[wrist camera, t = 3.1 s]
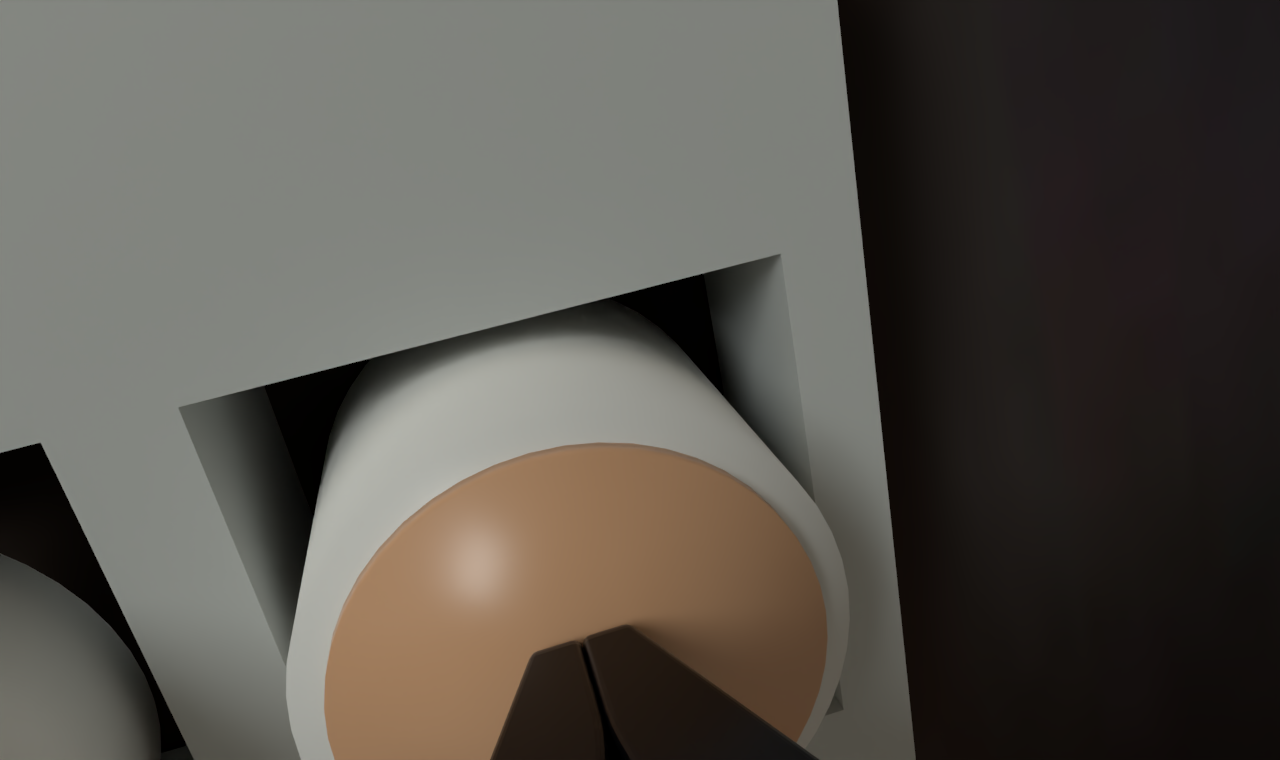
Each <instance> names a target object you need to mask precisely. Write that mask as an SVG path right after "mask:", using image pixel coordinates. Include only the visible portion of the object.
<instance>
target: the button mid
mask: <svg viewBox="0 0 1280 760" xmlns="http://www.w3.org/2000/svg"><path fill="white" fill-rule="evenodd" d="M160 759H161V729H160V723H159V718H158V713H157V709H156V704H155V700H154V697H153V695H152V692H151V690H150V687H149V685H148V682H147V680H146V677H145V675H144V673H143V671H142V670H141V668H140V666H139V665H138V663H137V661H136V660H135V658H134V656H133V654H132V653H131V651H130V650H129V648H128V647H127V646H126V645H125V643H124V642H123V641H122V640H121V638H120V637H119V636H118V635H117V633H116V632H115V631H114V630H113V629H112V627H111V626H110V625H109V624H108V623H107V622H106V621H105V620H104V619H102V618H101V617H100V616H99V615H98V614H97V613H96V612H95V611H94V610H93V609H92V608H91V607H90V606H89V605H88V604H87V603H85V602H84V601H82V600H81V599H80V598H78V597H77V596H76V595H74V594H73V593H72V592H70V591H69V590H67V589H66V588H65V587H63V586H62V585H61V584H59V583H58V582H56V581H54V580H52V579H51V578H49V577H47V576H45V575H44V574H42V573H40V572H38V571H37V570H35V569H33V568H31V567H30V566H28V565H26V564H24V563H21V562H19V561H17V560H14V559H12V558H10V557H7V556H5V555H3V554H0V760H160Z"/></svg>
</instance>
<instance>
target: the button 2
mask: <svg viewBox="0 0 1280 760" xmlns="http://www.w3.org/2000/svg"><path fill="white" fill-rule="evenodd" d="M849 622H850V612H849V593H848V585H847V580H846V575H845V570H844V566H843V561H842V558H841V555H840V552H839V550H838V547H837V544H836V542H835V539H834V536H833V534H832V531H831V530H830V528H829V526H828V524H827V522H826V521H825V519H824V517H823V515H822V514H821V512H820V510H819V508H818V507H817V505H816V504H815V503H814V501H813V500H812V499H811V498H810V496H809V495H808V494H807V492H806V491H805V490H804V489H803V487H802V486H801V485H800V484H799V482H798V481H797V480H796V479H795V478H794V477H793V476H792V474H791V473H790V472H789V471H788V470H787V469H786V468H785V466H784V465H783V464H782V463H781V462H780V461H779V460H778V458H777V457H776V456H775V455H774V454H773V453H772V452H771V450H770V449H769V448H768V447H767V446H766V445H765V444H764V442H763V441H762V440H761V439H760V438H759V437H758V436H757V434H756V433H755V432H754V431H753V430H752V429H751V428H750V426H749V425H748V424H747V423H746V422H745V421H744V420H743V418H742V417H741V416H740V415H739V414H738V413H737V412H736V410H735V409H734V408H733V407H732V406H731V405H730V404H729V402H728V401H727V400H726V399H725V398H724V397H723V396H722V394H721V393H720V392H719V391H718V390H717V389H716V388H715V386H714V385H713V384H712V383H711V382H710V381H709V380H708V378H707V377H706V376H705V375H704V374H703V373H702V372H701V370H700V369H699V368H698V367H697V366H696V365H695V364H694V362H693V361H692V360H691V359H690V358H689V357H688V356H687V354H686V353H685V352H684V351H683V350H682V349H681V348H680V346H679V345H678V344H677V343H676V342H675V341H674V340H673V339H671V338H670V337H669V336H668V335H667V334H666V333H665V332H664V331H663V330H662V329H661V328H660V327H658V326H657V325H655V324H654V323H653V322H651V321H650V320H648V319H647V318H645V317H644V316H642V315H641V314H640V313H638V312H636V311H634V310H632V309H630V308H628V307H626V306H624V305H622V304H620V303H618V302H616V301H613V300H611V299H608V298H605V299H601V300H597V301H593V302H589V303H585V304H581V305H578V306H574V307H570V308H566V309H562V310H558V311H554V312H550V313H546V314H542V315H538V316H534V317H531V318H527V319H523V320H519V321H515V322H511V323H507V324H503V325H499V326H495V327H491V328H487V329H483V330H480V331H476V332H472V333H468V334H464V335H460V336H456V337H452V338H448V339H444V340H440V341H436V342H433V343H429V344H425V345H421V346H417V347H413V348H409V349H405V350H401V351H397V352H393V353H389V354H385V355H382V356H378V357H374V358H372V359H371V360H370V361H369V362H368V363H367V364H366V365H365V366H364V368H363V369H362V371H361V372H360V373H359V375H358V376H357V378H356V379H355V381H354V382H353V383H352V385H351V386H350V388H349V390H348V392H347V394H346V396H345V398H344V400H343V402H342V403H341V405H340V407H339V409H338V411H337V414H336V417H335V420H334V423H333V426H332V429H331V432H330V435H329V439H328V444H327V450H326V455H325V460H324V466H323V471H322V476H321V482H320V487H319V492H318V497H317V503H316V508H315V513H314V519H313V524H312V529H311V534H310V540H309V545H308V550H307V556H306V561H305V566H304V571H303V577H302V582H301V587H300V593H299V598H298V603H297V609H296V614H295V619H294V624H293V630H292V635H291V641H290V646H289V652H288V658H287V664H286V700H287V707H288V713H289V720H290V726H291V731H292V734H293V737H294V740H295V743H296V746H297V749H298V752H299V755H300V758H301V760H490V759H491V756H492V753H493V751H494V748H495V746H496V743H497V741H498V738H499V735H500V733H501V730H502V728H503V725H504V723H505V720H506V717H507V715H508V712H509V710H510V707H511V705H512V702H513V699H514V697H515V694H516V692H517V689H518V687H519V684H520V681H521V679H522V676H523V674H524V671H525V669H526V666H527V663H528V661H529V659H530V657H531V656H532V654H533V653H535V652H537V651H539V650H543V649H546V648H549V647H552V646H556V645H559V644H562V643H565V642H569V641H574V640H575V641H578V642H579V643H580V644H581V645H582V647H583V642H584V639H585V638H586V637H587V636H589V635H592V634H595V633H598V632H601V631H604V630H608V629H611V628H614V627H617V626H621V625H625V624H627V625H631V626H633V627H635V628H636V629H638V630H639V631H640V632H642V633H643V634H645V635H646V636H647V637H649V638H650V639H652V640H653V641H654V642H656V643H657V644H659V645H660V646H661V647H663V648H664V649H666V650H667V651H668V652H670V653H671V654H673V655H674V656H675V657H677V658H678V659H680V660H681V661H682V662H684V663H685V664H687V665H688V666H689V667H691V668H692V669H694V670H695V671H696V672H698V673H699V674H701V675H702V676H703V677H705V678H706V679H708V680H709V681H710V682H712V683H713V684H715V685H716V686H717V687H719V688H720V689H722V690H723V691H724V692H726V693H727V694H729V695H730V696H731V697H733V698H734V699H736V700H737V701H738V702H740V703H741V704H743V705H744V706H745V707H747V708H748V709H750V710H751V711H752V712H754V713H755V714H757V715H758V716H759V717H761V718H762V719H764V720H765V721H766V722H768V723H769V724H771V725H772V726H773V727H775V728H776V729H777V730H779V731H780V732H782V733H783V734H784V735H786V736H787V737H789V738H790V739H791V740H793V741H794V742H796V743H797V744H798V745H800V746H801V747H803V748H804V749H805V748H806V747H807V745H808V744H809V742H810V741H811V739H812V738H813V736H814V735H815V733H816V731H817V729H818V728H819V726H820V724H821V722H822V720H823V718H824V716H825V714H826V712H827V710H828V708H829V706H830V704H831V701H832V698H833V696H834V693H835V690H836V688H837V685H838V682H839V680H840V677H841V672H842V668H843V664H844V659H845V655H846V651H847V644H848V633H849ZM583 650H584V648H583ZM584 653H585V652H584Z"/></svg>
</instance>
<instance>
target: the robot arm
mask: <svg viewBox="0 0 1280 760" xmlns="http://www.w3.org/2000/svg"><path fill="white" fill-rule="evenodd" d="M583 648H584V650H583ZM584 652H585V653H584ZM490 760H819V759H818V758H817V757H815V756H814V755H812V754H811V753H810V752H808V751H807V750H805V749H804V748H803V747H801V746H800V745H798V744H797V743H796V742H794V741H793V740H791V739H790V738H789V737H787V736H786V735H784V734H783V733H782V732H780V731H779V730H777V729H776V728H775V727H773V726H772V725H771V724H769V723H768V722H766V721H765V720H764V719H762V718H761V717H759V716H758V715H757V714H755V713H754V712H752V711H751V710H750V709H748V708H747V707H745V706H744V705H743V704H741V703H740V702H738V701H737V700H736V699H734V698H733V697H731V696H730V695H729V694H727V693H726V692H724V691H723V690H722V689H720V688H719V687H717V686H716V685H715V684H713V683H712V682H710V681H709V680H708V679H706V678H705V677H703V676H702V675H701V674H699V673H698V672H696V671H695V670H694V669H692V668H691V667H689V666H688V665H687V664H685V663H684V662H682V661H681V660H680V659H678V658H677V657H675V656H674V655H673V654H671V653H670V652H668V651H667V650H666V649H664V648H663V647H661V646H660V645H659V644H657V643H656V642H654V641H653V640H652V639H650V638H649V637H647V636H646V635H645V634H643V633H642V632H640V631H639V630H638V629H636V628H635V627H633V626H631V625H627V624H625V625H621V626H617V627H614V628H611V629H608V630H604V631H601V632H598V633H595V634H592V635H589V636H587V637H586V638H585V639H584V642H583V647H582V645H581V644H580V643H579V642H578V641H575V640H574V641H569V642H565V643H562V644H559V645H556V646H552V647H549V648H546V649H543V650H539V651H537V652H535V653H533V654H532V656H531V657H530V659H529V661H528V663H527V666H526V669H525V671H524V674H523V676H522V679H521V681H520V684H519V687H518V689H517V692H516V694H515V697H514V699H513V702H512V705H511V707H510V710H509V712H508V715H507V717H506V720H505V723H504V725H503V728H502V730H501V733H500V735H499V738H498V741H497V743H496V746H495V748H494V751H493V753H492V756H491V759H490Z"/></svg>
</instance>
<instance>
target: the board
mask: <svg viewBox="0 0 1280 760" xmlns="http://www.w3.org/2000/svg"><path fill="white" fill-rule="evenodd" d="M699 274H704V280H705V286H706V292H707V297H708V303H709V309H710V315H711V321H712V327H713V332H714V338H715V344H716V350H717V356H718V362H719V367H720V373H721V379H722V385H723V391H724V397H725V399H726V400H727V401H728V402H729V404H730V405H731V406H732V407H733V408H734V409H735V410H736V412H737V413H738V414H739V415H740V416H741V417H742V418H743V420H744V421H745V422H746V423H747V424H748V425H749V426H750V428H751V429H752V430H753V431H754V432H755V433H756V434H757V436H758V437H759V438H760V439H761V440H762V441H763V442H764V444H765V445H766V446H767V447H768V448H769V449H770V450H771V452H772V453H773V454H774V455H775V456H776V457H777V458H778V460H779V461H780V462H781V463H782V464H783V465H784V466H785V468H786V469H787V470H788V471H789V472H790V473H791V474H792V476H793V477H794V478H795V479H796V480H797V481H798V482H799V484H800V485H801V486H802V487H803V489H804V490H805V491H806V492H807V494H808V495H809V496H810V498H811V499H812V500H813V501H814V503H815V504H816V505H817V507H818V508H819V510H820V512H821V514H822V515H823V517H824V519H825V521H826V522H827V524H828V526H829V528H830V530H831V531H832V534H833V536H834V539H835V542H836V544H837V547H838V550H839V552H840V555H841V558H842V561H843V566H844V570H845V575H846V580H847V585H848V593H849V612H850V622H849V633H848V644H847V651H846V655H845V659H844V664H843V668H842V672H841V677H840V680H839V682H838V685H837V688H836V690H835V693H834V696H833V698H832V701H831V704H830V706H829V708H828V710H827V712H826V714H825V716H824V718H823V720H822V722H821V724H820V726H819V728H818V729H817V731H816V733H815V735H814V736H813V738H812V739H811V741H810V742H809V744H808V745H807V747H806V748H805V750H807V751H808V752H810V753H811V754H812V755H814V756H815V757H817V758H818V759H819V760H916V757H915V747H914V737H913V728H912V718H911V708H910V699H909V689H908V679H907V670H906V660H905V650H904V641H903V631H902V621H901V612H900V602H899V592H898V583H897V573H896V563H895V554H894V544H893V534H892V525H891V515H890V505H889V496H888V486H887V476H886V467H885V457H884V447H883V438H882V428H881V418H880V409H879V399H878V389H877V380H876V370H875V360H874V351H873V341H872V331H871V322H870V312H869V302H868V293H867V283H866V273H865V264H864V254H863V244H862V235H861V225H860V215H859V206H858V196H857V186H856V177H855V167H854V157H853V148H852V138H851V128H850V119H849V109H848V99H847V90H846V80H845V70H844V61H843V51H842V41H841V32H840V22H839V12H838V3H837V0H0V453H1V452H5V451H9V450H13V449H17V448H21V447H25V446H29V445H33V444H37V443H41V444H42V446H43V449H44V451H45V453H46V455H47V457H48V459H49V461H50V463H51V465H52V467H53V469H54V471H55V473H56V475H57V477H58V480H59V482H60V484H61V486H62V488H63V490H64V492H65V494H66V496H67V498H68V500H69V502H70V504H71V506H72V509H73V511H74V513H75V515H76V517H77V519H78V521H79V523H80V525H81V527H82V529H83V531H84V533H85V535H86V537H87V540H88V542H89V544H90V546H91V548H92V550H93V552H94V554H95V556H96V558H97V560H98V562H99V564H100V566H101V568H102V571H103V573H104V575H105V577H106V579H107V581H108V583H109V585H110V587H111V589H112V591H113V593H114V595H115V597H116V600H117V602H118V604H119V606H120V608H121V610H122V612H123V614H124V616H125V618H126V620H127V622H128V624H129V626H130V628H131V631H132V633H133V635H134V637H135V639H136V641H137V643H138V645H139V647H140V649H141V651H142V653H143V655H144V657H145V659H146V662H147V664H148V666H149V668H150V670H151V672H152V674H153V676H154V678H155V680H156V682H157V684H158V686H159V688H160V690H161V693H162V695H163V697H164V699H165V701H166V703H167V705H168V707H169V709H170V711H171V713H172V715H173V717H174V719H175V722H176V724H177V726H178V728H179V730H180V732H181V734H182V736H183V738H184V740H185V742H186V744H187V745H186V746H183V747H180V748H177V749H173V750H170V751H167V752H163V753H161V759H160V760H301V758H300V755H299V752H298V749H297V746H296V743H295V740H294V737H293V734H292V731H291V726H290V720H289V713H288V707H287V700H286V664H287V658H288V652H289V646H290V641H291V635H292V630H293V624H294V619H295V614H296V609H297V603H298V598H299V593H300V587H301V582H302V577H303V571H304V566H305V561H306V556H307V550H308V545H309V540H310V534H311V529H312V524H313V519H314V518H313V515H312V513H311V510H310V507H309V505H308V502H307V499H306V497H305V494H304V491H303V489H302V486H301V483H300V481H299V478H298V475H297V473H296V470H295V467H294V465H293V462H292V459H291V457H290V454H289V451H288V448H287V446H286V443H285V440H284V438H283V435H282V432H281V430H280V427H279V424H278V422H277V419H276V416H275V414H274V411H273V408H272V406H271V403H270V400H269V398H268V395H267V392H266V390H265V387H264V385H268V384H272V383H276V382H280V381H284V380H288V379H291V378H295V377H299V376H303V375H307V374H311V373H315V372H319V371H323V370H327V369H331V368H335V367H338V366H342V365H346V364H350V363H354V362H358V361H362V360H366V359H370V358H374V357H378V356H382V355H385V354H389V353H393V352H397V351H401V350H405V349H409V348H413V347H417V346H421V345H425V344H429V343H433V342H436V341H440V340H444V339H448V338H452V337H456V336H460V335H464V334H468V333H472V332H476V331H480V330H483V329H487V328H491V327H495V326H499V325H503V324H507V323H511V322H515V321H519V320H523V319H527V318H531V317H534V316H538V315H542V314H546V313H550V312H554V311H558V310H562V309H566V308H570V307H574V306H578V305H581V304H585V303H589V302H593V301H597V300H601V299H605V298H609V297H613V296H617V295H621V294H625V293H629V292H632V291H636V290H640V289H644V288H648V287H652V286H656V285H660V284H664V283H668V282H672V281H676V280H679V279H683V278H687V277H691V276H695V275H699Z"/></svg>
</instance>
